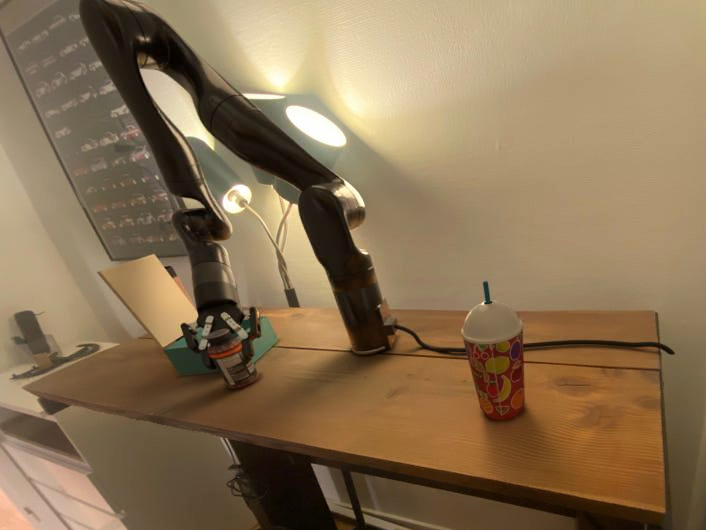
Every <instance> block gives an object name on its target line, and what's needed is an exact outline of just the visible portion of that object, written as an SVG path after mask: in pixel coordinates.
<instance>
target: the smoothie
mask: <svg viewBox="0 0 706 530" xmlns="http://www.w3.org/2000/svg"><path fill="white" fill-rule="evenodd" d="M482 286H483V294H484V301H481V302H479V303H477V304H476V305H474V306H473V307H472V308H471V309H470V310H469V311H468V313H467V314H466V317H465V319H464V323H463V326H462V327H461V329H460V335H461V337H462V341H463V345H464V348H465V349H466V352H465V353H466V357H467V360H468V364H469V368H470V372H471V377H472V380H473V384H474V387H475V391H476V395H477V400H478V403H479V407H480V409H481V410H482V411H483V412H484V414H485V416H487V417H488V418H490V419H493V420H495V421H504V420H510V419H512V418H515V417H516V416H518V415H519V414H520V412H521V411H522V409H523V406H524V405H525V400H526V397H525V396H526V394H525V393H526V391H525V362H524V361H525V358H524V356H525V355H524V348H523V344H524V329H523V328H524V323H523V321H522V319H520V318H519V317H518V315H517V313H516V311H515V310H514V309H513V308H512V307H511V306H509V305H508V304H506V303H505V302H502V301H499V300H495V299H491V295H490V293H491V292H490V287H489V282H488V280H484V281H482Z"/></svg>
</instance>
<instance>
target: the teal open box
mask: <svg viewBox="0 0 706 530" xmlns="http://www.w3.org/2000/svg"><path fill="white" fill-rule="evenodd" d="M260 317H261V334H262V336H261V337H260V338H256V339H254V340H253V342H252V343H253V348H254V352H255V355H254V356H253V357H252V358H253V359H252V362H253V364H254V365H255V363H256V362H257V361H258V360H259V359H260V358H262V356H264V355H265V354H266V353H267V352H268V351H269V350H270V349H271V348H272V347H273V346H274V345H276V344H277V343H278V342H279V337H278V336H277V334H276V332H275V329H274V327H273V325H272V323H271V320H270V318H269V316H268V315H263V316H260ZM240 326H241V327H242V328H243V329H244V330H245V331H246V332H247V333H248V332H250V320H249V319H248V318H247V317H246V318H244V320H243V322H242V323H241V325H240ZM202 332H203V328H201V327H199V328H198V334H196V336H197V338H198V341H199V344H200V342H201V339H202V338H201V335H202ZM232 336H233V337H236V338H239V339H240V340H241V341H242V338H241V337H240V336H239V335H238V334H237V332H235V333H234V334H232ZM163 352H164V353H165V355H166V357H167V358H168V360H169V361H170V363H171V365H172V367H173V368H174V370H175V371H176V372H177V375H178V376H179V377H183V376H184V377H186V376H192V375H201V374H210V373H218V372H219V371H218V369H217V367H216V369H215V370H211V369H209V368H207V367H205V366H204V365H203V361H202V355H201V353H195V352H194V351H192V350H190V349H189V348H188V346H187V343H186V341H185V338H184V337H183V338H181V339H180V340H178V341H174V343H173V342H172V343H171V344H169V346H167V347H164V349H163Z"/></svg>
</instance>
